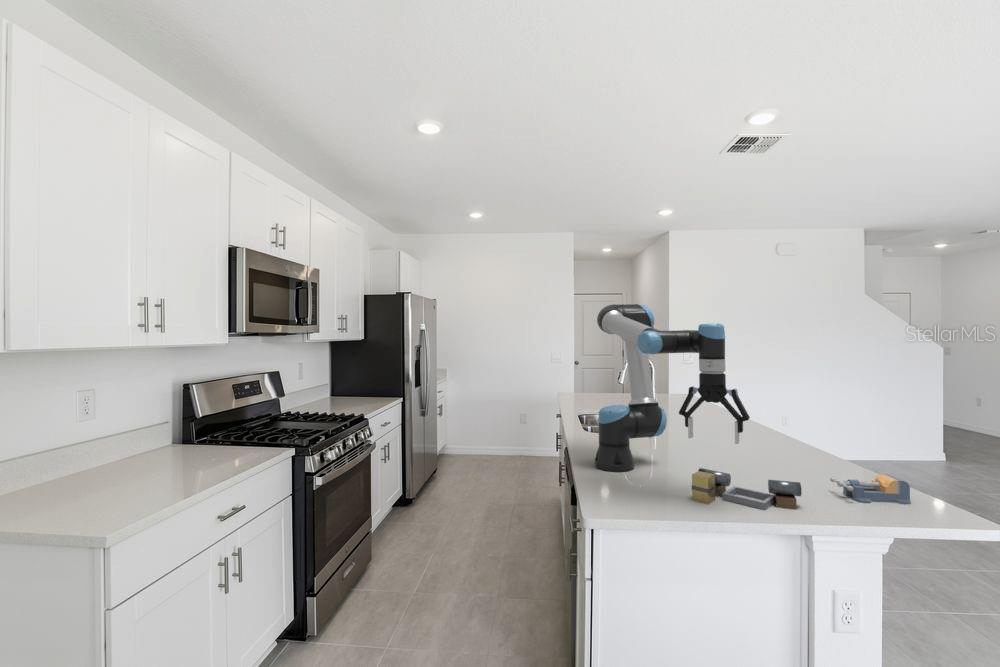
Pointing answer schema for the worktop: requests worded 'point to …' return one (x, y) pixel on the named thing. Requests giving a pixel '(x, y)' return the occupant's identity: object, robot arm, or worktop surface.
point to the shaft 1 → (719, 480)
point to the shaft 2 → (784, 493)
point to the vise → (877, 489)
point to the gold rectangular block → (703, 487)
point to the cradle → (767, 498)
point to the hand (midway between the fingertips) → (713, 440)
